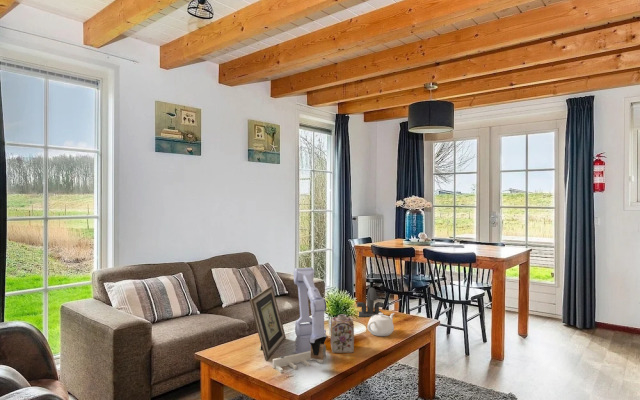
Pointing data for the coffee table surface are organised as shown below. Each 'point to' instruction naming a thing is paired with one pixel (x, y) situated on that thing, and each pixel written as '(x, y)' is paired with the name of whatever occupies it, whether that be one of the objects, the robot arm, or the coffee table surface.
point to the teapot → (381, 325)
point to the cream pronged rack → (293, 360)
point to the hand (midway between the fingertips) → (318, 353)
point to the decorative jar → (342, 334)
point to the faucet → (370, 304)
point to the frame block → (321, 352)
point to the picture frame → (268, 321)
